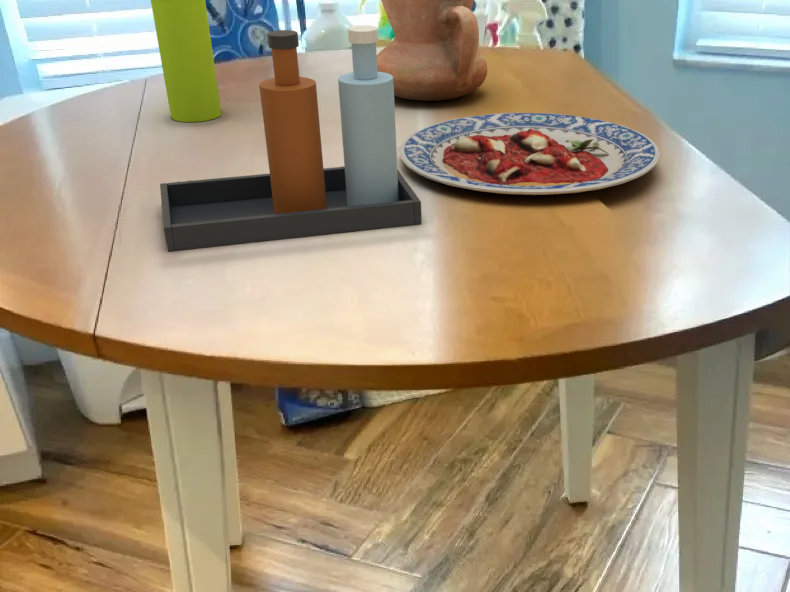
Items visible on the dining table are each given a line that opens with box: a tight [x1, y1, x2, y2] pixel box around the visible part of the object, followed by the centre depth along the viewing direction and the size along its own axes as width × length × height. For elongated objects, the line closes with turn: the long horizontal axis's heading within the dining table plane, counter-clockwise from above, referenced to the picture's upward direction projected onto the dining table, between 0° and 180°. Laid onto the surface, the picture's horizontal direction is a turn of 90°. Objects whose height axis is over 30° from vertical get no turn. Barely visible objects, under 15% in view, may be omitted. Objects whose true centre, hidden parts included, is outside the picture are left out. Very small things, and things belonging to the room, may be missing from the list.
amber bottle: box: [258, 29, 327, 214], centre depth 80 cm, size 5×5×15 cm
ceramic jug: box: [376, 0, 488, 102], centre depth 117 cm, size 18×14×14 cm
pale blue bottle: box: [337, 24, 399, 206], centre depth 82 cm, size 5×5×15 cm
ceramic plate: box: [398, 112, 661, 196], centre depth 96 cm, size 26×26×3 cm
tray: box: [159, 166, 422, 253], centre depth 84 cm, size 21×11×3 cm, turn 106°
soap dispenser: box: [150, 0, 222, 123], centre depth 108 cm, size 6×7×20 cm
